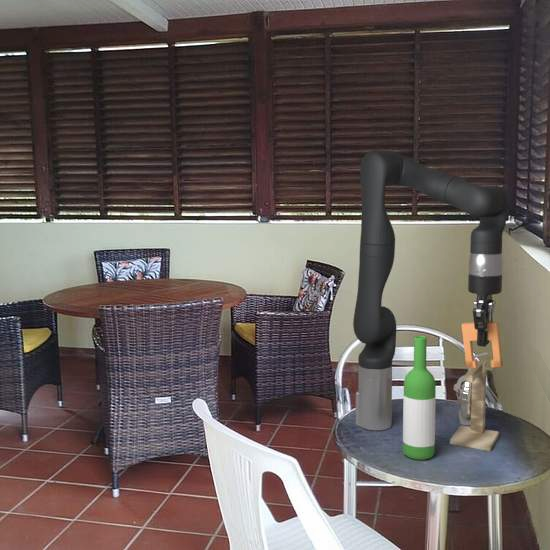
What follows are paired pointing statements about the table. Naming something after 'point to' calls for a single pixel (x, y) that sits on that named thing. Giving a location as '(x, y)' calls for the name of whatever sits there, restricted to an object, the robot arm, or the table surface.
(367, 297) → the robot arm
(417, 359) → the wine bottle
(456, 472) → the table surface
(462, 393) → the cup with straw
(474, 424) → the hook stand
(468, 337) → the c link
